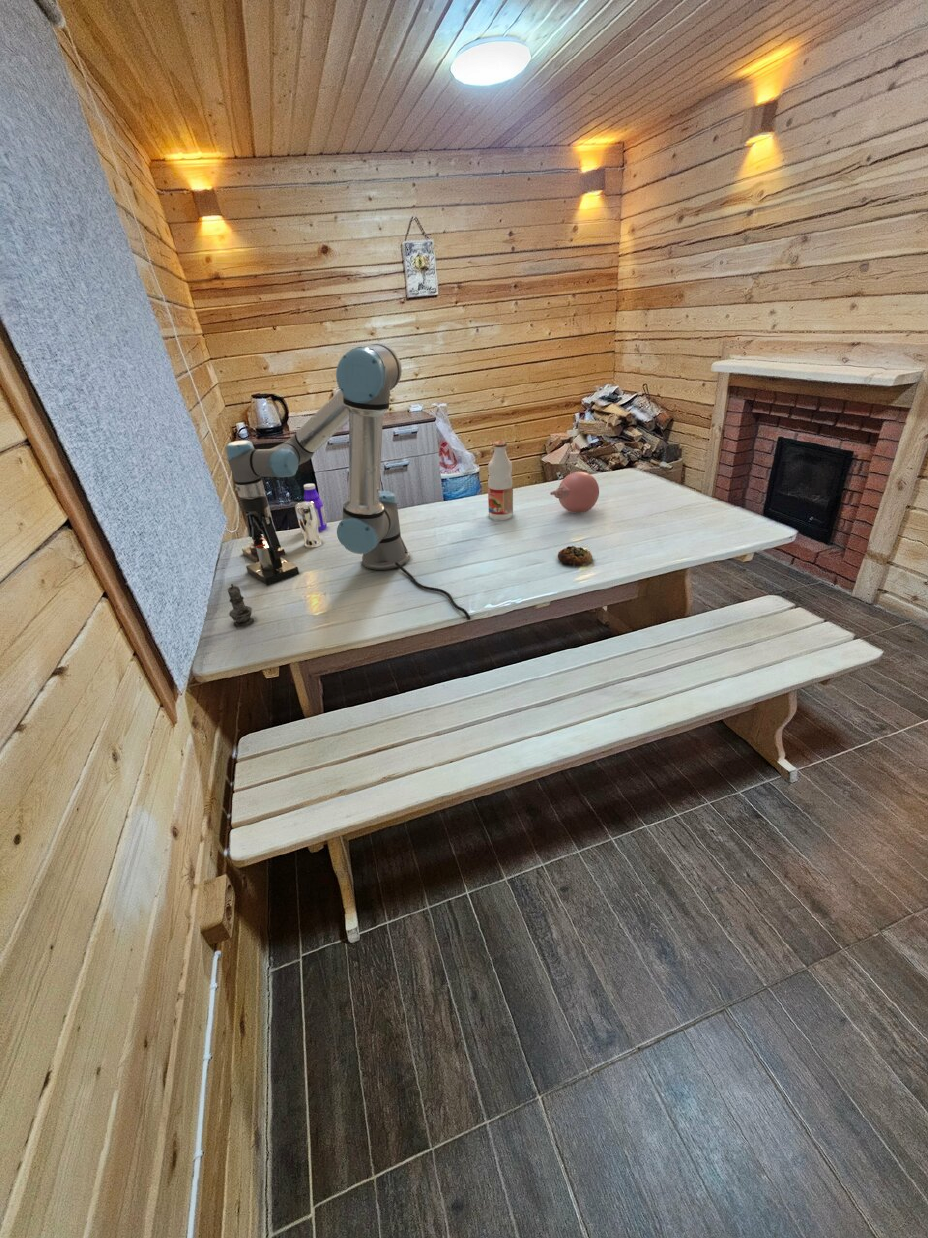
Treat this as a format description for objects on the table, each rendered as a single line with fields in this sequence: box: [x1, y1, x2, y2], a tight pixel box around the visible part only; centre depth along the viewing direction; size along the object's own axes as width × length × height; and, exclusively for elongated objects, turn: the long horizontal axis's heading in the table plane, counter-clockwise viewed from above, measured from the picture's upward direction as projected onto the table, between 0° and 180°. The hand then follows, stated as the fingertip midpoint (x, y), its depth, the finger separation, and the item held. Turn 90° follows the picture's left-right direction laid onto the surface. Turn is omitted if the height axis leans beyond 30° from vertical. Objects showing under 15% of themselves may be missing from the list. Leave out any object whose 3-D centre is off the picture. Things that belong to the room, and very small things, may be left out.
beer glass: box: [294, 501, 323, 549], centre depth 184 cm, size 7×7×15 cm
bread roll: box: [557, 545, 593, 567], centre depth 165 cm, size 11×11×5 cm
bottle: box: [303, 483, 328, 532], centre depth 196 cm, size 7×6×17 cm
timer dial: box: [256, 541, 273, 570], centre depth 165 cm, size 6×6×8 cm
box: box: [241, 542, 286, 563], centre depth 181 cm, size 12×10×4 cm
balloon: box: [550, 471, 600, 514], centre depth 197 cm, size 15×20×15 cm
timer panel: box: [245, 556, 300, 587], centre depth 168 cm, size 14×11×3 cm
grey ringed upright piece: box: [227, 583, 255, 629], centre depth 139 cm, size 6×6×12 cm
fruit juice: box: [487, 440, 514, 521], centre depth 195 cm, size 9×9×28 cm
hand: (270, 563), depth 167 cm, fingers open, 10 cm apart
